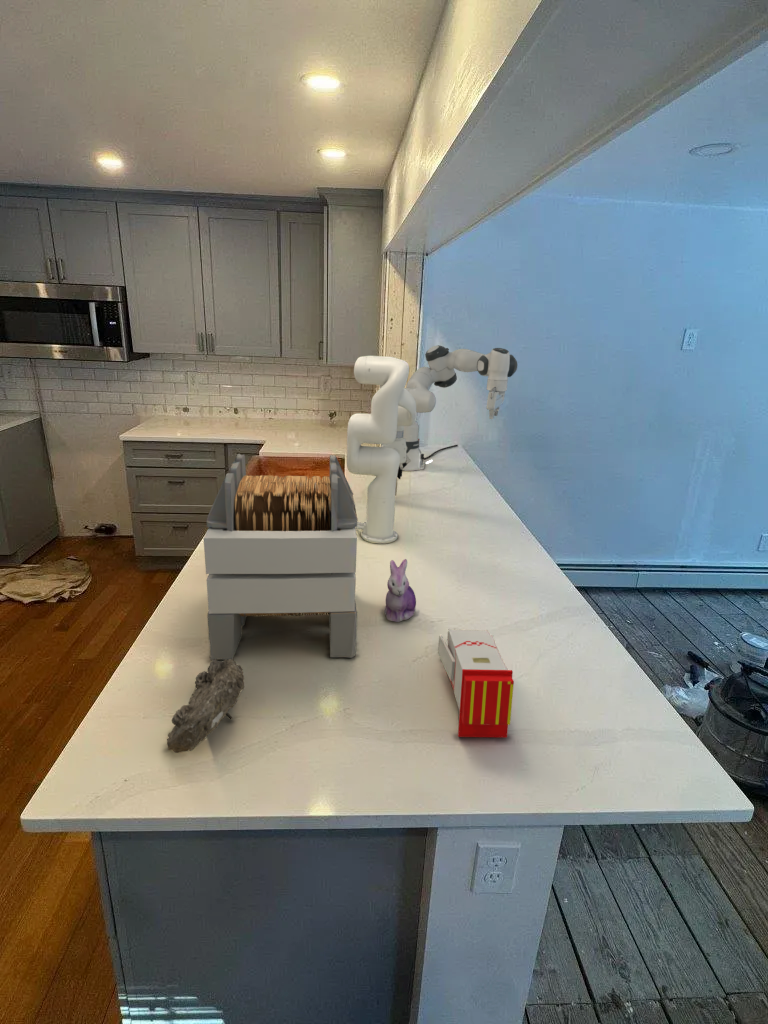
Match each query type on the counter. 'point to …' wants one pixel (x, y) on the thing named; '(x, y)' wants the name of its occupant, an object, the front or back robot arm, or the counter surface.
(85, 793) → the counter surface
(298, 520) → the grey record storage stand
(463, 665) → the toy
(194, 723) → the fossil
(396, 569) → the figurine
